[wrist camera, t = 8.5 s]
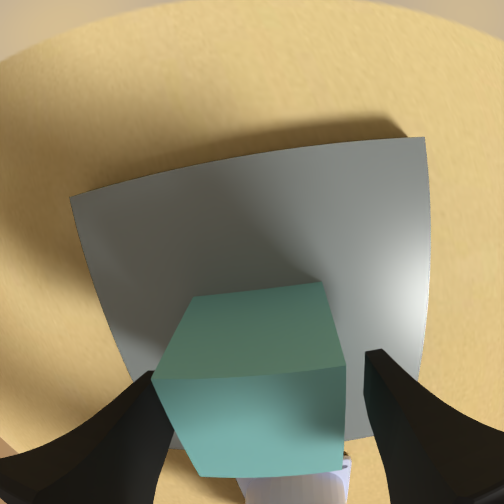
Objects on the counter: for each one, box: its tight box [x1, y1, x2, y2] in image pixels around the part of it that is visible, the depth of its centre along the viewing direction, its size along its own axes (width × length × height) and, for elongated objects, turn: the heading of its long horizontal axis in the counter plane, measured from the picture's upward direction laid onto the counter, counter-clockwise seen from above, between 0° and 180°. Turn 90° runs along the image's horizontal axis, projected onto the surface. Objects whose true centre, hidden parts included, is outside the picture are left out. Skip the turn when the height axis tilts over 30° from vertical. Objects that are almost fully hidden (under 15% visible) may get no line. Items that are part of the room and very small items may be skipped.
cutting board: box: [69, 137, 431, 450], centre depth 14 cm, size 15×14×2 cm
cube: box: [151, 282, 346, 478], centre depth 10 cm, size 5×5×5 cm
